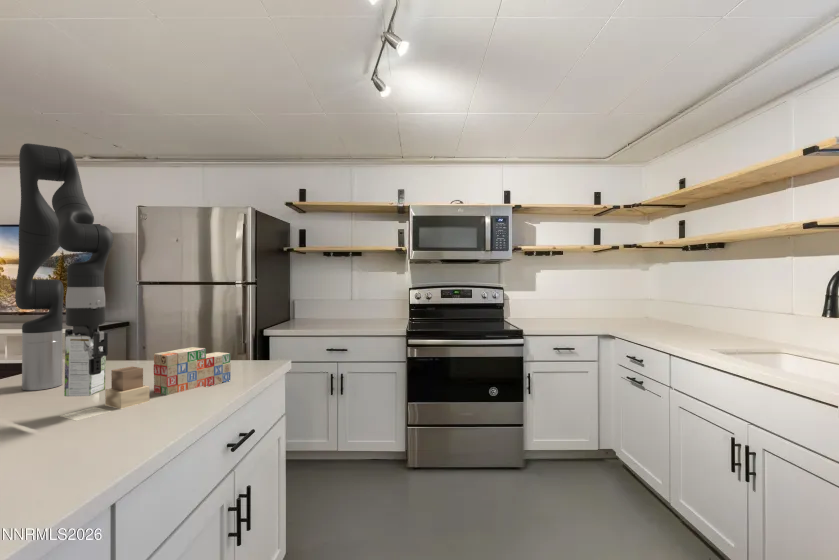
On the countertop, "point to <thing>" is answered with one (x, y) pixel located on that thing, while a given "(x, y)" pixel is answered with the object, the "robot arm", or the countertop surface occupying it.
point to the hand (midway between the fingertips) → (85, 372)
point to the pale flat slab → (88, 413)
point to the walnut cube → (127, 378)
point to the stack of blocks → (189, 369)
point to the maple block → (126, 397)
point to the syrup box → (81, 368)
